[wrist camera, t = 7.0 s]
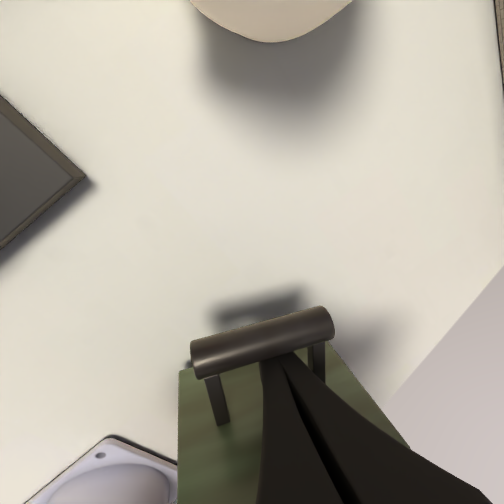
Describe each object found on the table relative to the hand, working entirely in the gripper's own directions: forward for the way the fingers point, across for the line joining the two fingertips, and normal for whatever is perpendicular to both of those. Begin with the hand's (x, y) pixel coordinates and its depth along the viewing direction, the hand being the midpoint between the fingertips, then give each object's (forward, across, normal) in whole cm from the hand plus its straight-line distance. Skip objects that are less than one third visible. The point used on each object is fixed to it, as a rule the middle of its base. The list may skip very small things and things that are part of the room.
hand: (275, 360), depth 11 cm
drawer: (+3, +1, +5) cm, 5 cm away
